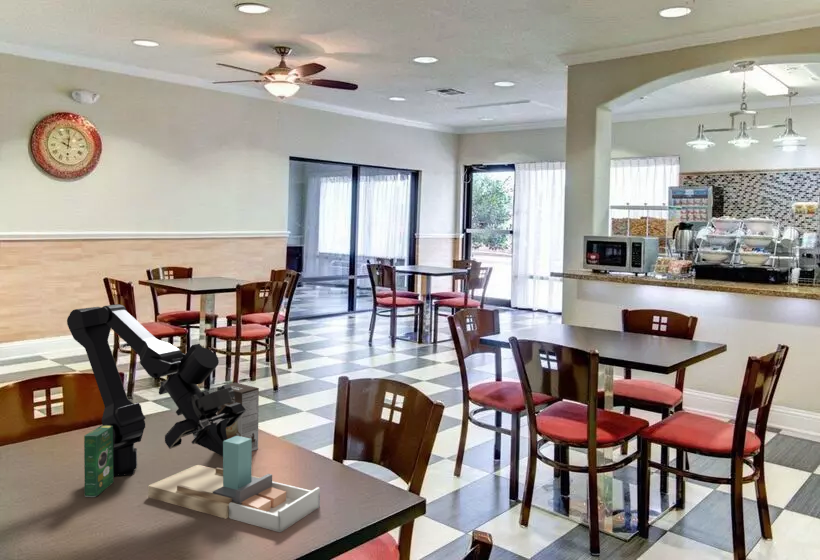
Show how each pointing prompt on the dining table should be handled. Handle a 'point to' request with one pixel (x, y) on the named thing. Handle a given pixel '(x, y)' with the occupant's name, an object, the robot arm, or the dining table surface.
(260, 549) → the dining table surface
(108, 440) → the coffee box
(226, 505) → the board
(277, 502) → the tile
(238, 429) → the coffee box
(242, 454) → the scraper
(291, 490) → the tray
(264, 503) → the tile
